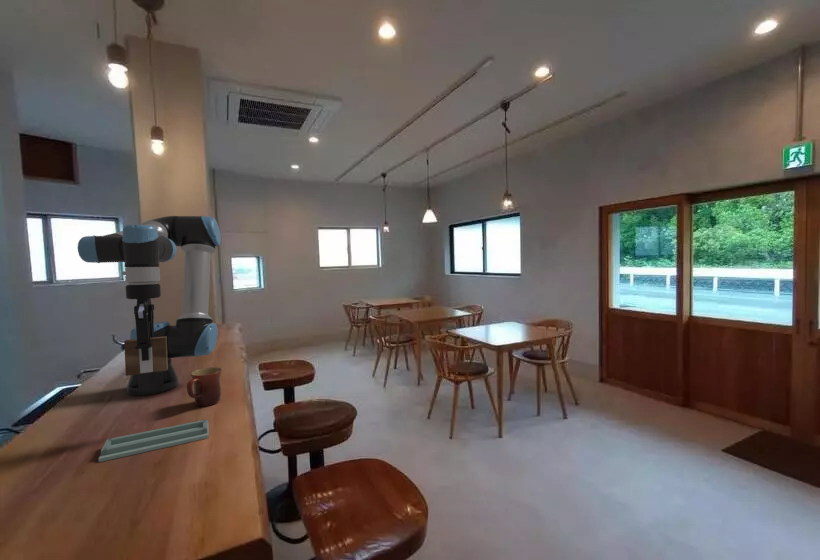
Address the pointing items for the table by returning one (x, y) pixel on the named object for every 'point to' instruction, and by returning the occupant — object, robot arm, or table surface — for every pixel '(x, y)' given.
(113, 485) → the table surface
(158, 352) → the slider block
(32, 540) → the table surface
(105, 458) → the track base
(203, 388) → the mug
